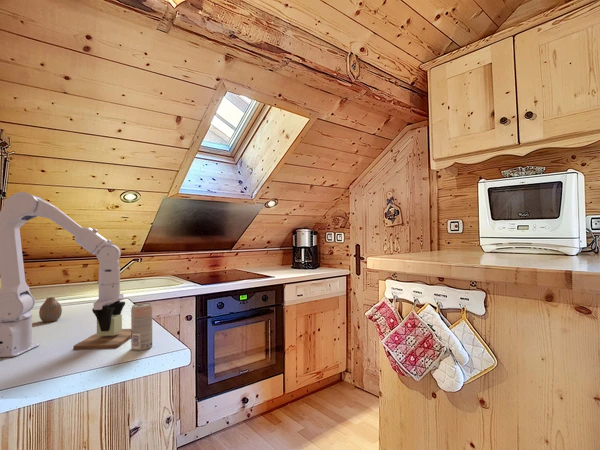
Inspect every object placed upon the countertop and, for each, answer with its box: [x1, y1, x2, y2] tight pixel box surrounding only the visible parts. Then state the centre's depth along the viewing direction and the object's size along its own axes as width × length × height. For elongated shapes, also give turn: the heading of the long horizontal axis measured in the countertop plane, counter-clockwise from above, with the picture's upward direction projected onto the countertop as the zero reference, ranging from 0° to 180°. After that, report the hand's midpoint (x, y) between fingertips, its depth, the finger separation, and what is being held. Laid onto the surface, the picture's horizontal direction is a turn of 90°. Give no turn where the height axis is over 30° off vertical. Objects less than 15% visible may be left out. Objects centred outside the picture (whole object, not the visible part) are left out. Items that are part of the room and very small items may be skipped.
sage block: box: [96, 313, 123, 336], centre depth 103 cm, size 5×5×5 cm
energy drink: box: [130, 302, 153, 352], centre depth 95 cm, size 5×5×12 cm
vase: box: [38, 296, 63, 323], centre depth 127 cm, size 7×7×9 cm
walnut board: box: [72, 328, 131, 350], centre depth 103 cm, size 16×12×1 cm
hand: (109, 328), depth 103 cm, fingers closed on sage block, 5 cm apart
